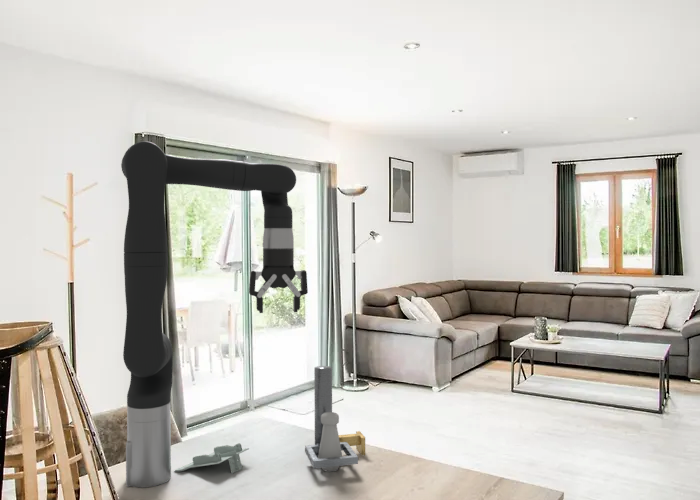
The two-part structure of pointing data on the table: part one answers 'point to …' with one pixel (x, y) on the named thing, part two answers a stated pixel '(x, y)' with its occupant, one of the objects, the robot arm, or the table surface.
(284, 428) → the table surface
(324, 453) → the salt shaker
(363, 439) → the square post stand
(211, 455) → the metal bracket
